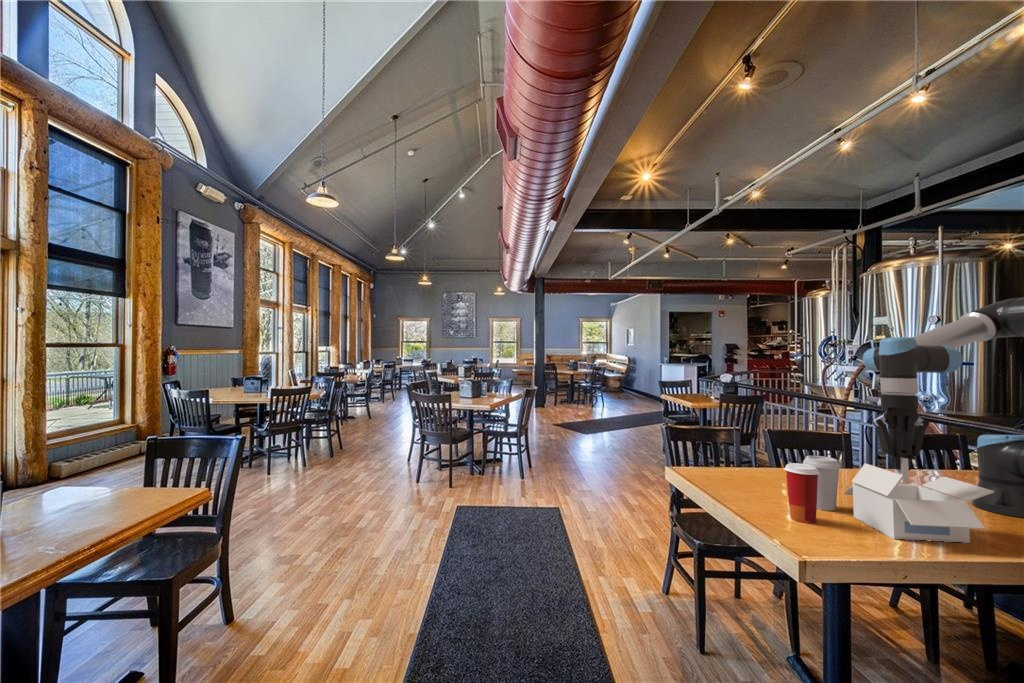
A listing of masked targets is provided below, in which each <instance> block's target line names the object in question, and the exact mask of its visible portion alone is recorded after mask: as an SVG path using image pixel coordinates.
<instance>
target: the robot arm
mask: <svg viewBox="0 0 1024 683" xmlns="http://www.w3.org/2000/svg"><path fill="white" fill-rule="evenodd" d="M1009 337H1010V338H1013V337H1014V338H1015V337H1022V338H1023V337H1024V296H1023V297H1014V298H1008V299H1004V300H1000V301H997V302H994V303H991V304H987V305H985V306H983V307H980V308H977V309H975V310H974V309H973V310H971V311H970V312H967V313H965V314H962V315H961V316H960V318H958V320H955V321H953V322H949V323H947V324H943V325H941V326H939V327H937V328H933V329H930V330H927V331H925V332H922V333H920V334H917V335H913V336H912V337H910V336H909V337H907V336H902V337H900V336H898V337H897V336H895V337H884V338H881V339H880V340H879V346H877V347H872V348H871V347H870V348H868V349H867V350H866V351H864V353H863V355H862V362H863V365H864V367H865V368H866V369H868V370H870V371H872V372H879V374H880V375H879V376H880V392H881V393H882V394H881V395H880V406H881V409H882V410H881V412H880V415H879V416H877V418H871V420H870V421H871V424H873V426H874V427H875V430H876V432H877V436H878V439H879V444H880V446H881V450H882V453H883V454H886V455H888V456H890V458H891V468H892V469H894V473H897V474H900V475H903V476H904V477H903V479H902V480H901V481H900V484H910V476H909V474H910V472H909V471H911V470H912V460H914V459H915V458H916V457H919V456H920V455H921V451H922V446H923V442H924V437H925V433H926V430H927V428H928V426H930V421H929V420H924V419H922V418H921V417H920V414H919V412H918V410H919V396H918V395H916V394H919V384H918V382H919V381H918V373H922V374H923V373H925V374H927V373H931V374H933V373H934V374H946V373H947V374H948V373H953V372H956V371H957V370H959V369H960V367H961V366H962V364H963V356H962V354H961V352H960V351H959V350H958V348H961V347H964V346H966V345H969V344H972V343H974V342H978V343H979V342H986V341H991V340H994V339H1000V338H1009ZM886 424H887V426H886ZM976 444H977V445H976V451H977V452H976V453H977V466H978V482H977V485H976V486H979V487H982V488H985V489H989V490H992V491H994V493H991V494H989V495H986V496H983V497H980V498H978V499H975V500H972V501H971V504H972V506H974V507H976V508H978V509H981V510H985V511H987V512H991V513H996V514H1000V515H1005V516H1009V517H1015V516H1016V517H1017V518H1022V517H1023V518H1024V435H1023V434H1022V435H1021V434H1020V435H1019V434H981V435H979V436H978V437H977V443H976ZM1023 518H1022V519H1023Z"/></svg>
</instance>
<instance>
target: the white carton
mask: <svg viewBox="0 0 1024 683" xmlns="http://www.w3.org/2000/svg"><path fill="white" fill-rule="evenodd" d="M844 495H847V496H852V503H853V504H852V505H853V509H852V510H853V519H855V518H856V519H855V520H857V519H858V520H857V521H859V520H860V521H862V522H864V523H865V524H864V523H863V524H864V525H866V524H867V526H868V525H869V526H868V527H870V526H871V527H870V528H872V527H873V528H872V529H874V528H875V529H874V530H876V531H877V530H878V532H879V531H880V533H881V532H882V533H881V534H883V533H884V535H885V536H887V537H889V538H891V539H893V540H896V539H905V540H904V541H914V540H931V541H944V542H943V543H949V542H962V543H961V544H967V543H970V544H971V535H970V534H971V533H970V529H976V530H977V529H978V530H980V529H981V530H985V528H986V527H985V526H984V524H983V523H982V521H980V519H979V518H978V516H977V515H976V514H975V512H974V511H973V510H972V509H971V507H970V506H969V502H966V501H964V500H961V499H958V498H955V497H952V496H949V495H946V494H943V493H940V492H937V491H934V490H931V489H928V488H925V487H922V485H916V484H910V483H899V484H898V485H897V487H896V488H895V489H894V491H893V492H892V493H891V495H890V496H889V497H888V496H885V495H883V494H880V493H878V492H875V491H873V490H871V489H868V488H866V487H863V486H861V485H858V484H856V483H853V482H852V484H851V486H850V487H849V488H848V489H847V490H846V491H845V492H844ZM860 521H859V522H860ZM862 522H861V523H862ZM931 541H930V542H931Z"/></svg>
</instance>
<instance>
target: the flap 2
mask: <svg viewBox="0 0 1024 683" xmlns="http://www.w3.org/2000/svg"><path fill="white" fill-rule="evenodd" d="M921 487H924V488H927V489H930V490H933V491H936V492H939V493H942V494H945V495H947V496H950V497H953V498H956V499H959V500H962V501H965V502H968V503H970V502H972V500H975V499H978V498H980V497H983V496H986V495H989V494H991V493H994V491H992V490H989V489H985V488H982V487H979V486H977V485H974V484H972V483H968V482H966V481H960V480H958V479H954V478H951V477H948V476H942V477H940V478H937V479H934V480H932V481H929V482H926V483H923V484H922V485H921Z"/></svg>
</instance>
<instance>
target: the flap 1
mask: <svg viewBox="0 0 1024 683" xmlns="http://www.w3.org/2000/svg"><path fill="white" fill-rule="evenodd" d="M903 477H904V476H903V475H900V474H897V473H895V471H894V472H892V471H891V470H888V469H884V468H881V467H878V466H875V465H872V464H869V463H863V465H862V466H861V468H860V469H859V471H858V472H857V473H856V475H855V476H854V477H853V479H852V480H851V483H852V484H853V483H856V484H858V485H861V486H863V487H866V488H868V489H871V490H873V491H875V492H878V493H880V494H883V495H885V496H888V497H889V496H890V495H891V493H892V492H893V491H894V489H895V488H896V487H897V485H898V484H901V482H900V481H901V480H902V479H903Z"/></svg>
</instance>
